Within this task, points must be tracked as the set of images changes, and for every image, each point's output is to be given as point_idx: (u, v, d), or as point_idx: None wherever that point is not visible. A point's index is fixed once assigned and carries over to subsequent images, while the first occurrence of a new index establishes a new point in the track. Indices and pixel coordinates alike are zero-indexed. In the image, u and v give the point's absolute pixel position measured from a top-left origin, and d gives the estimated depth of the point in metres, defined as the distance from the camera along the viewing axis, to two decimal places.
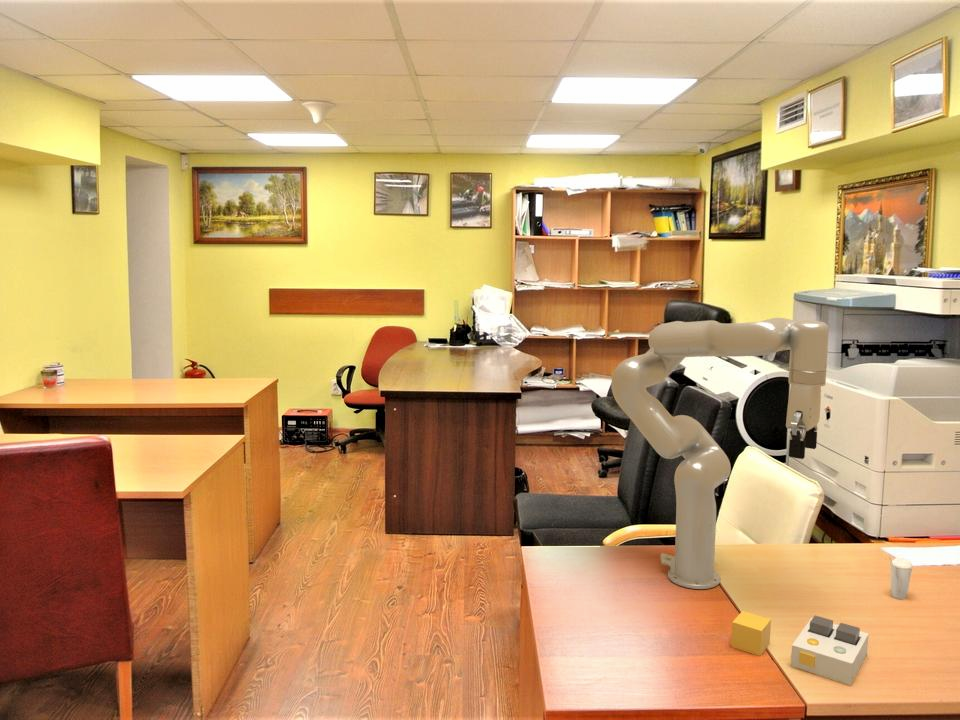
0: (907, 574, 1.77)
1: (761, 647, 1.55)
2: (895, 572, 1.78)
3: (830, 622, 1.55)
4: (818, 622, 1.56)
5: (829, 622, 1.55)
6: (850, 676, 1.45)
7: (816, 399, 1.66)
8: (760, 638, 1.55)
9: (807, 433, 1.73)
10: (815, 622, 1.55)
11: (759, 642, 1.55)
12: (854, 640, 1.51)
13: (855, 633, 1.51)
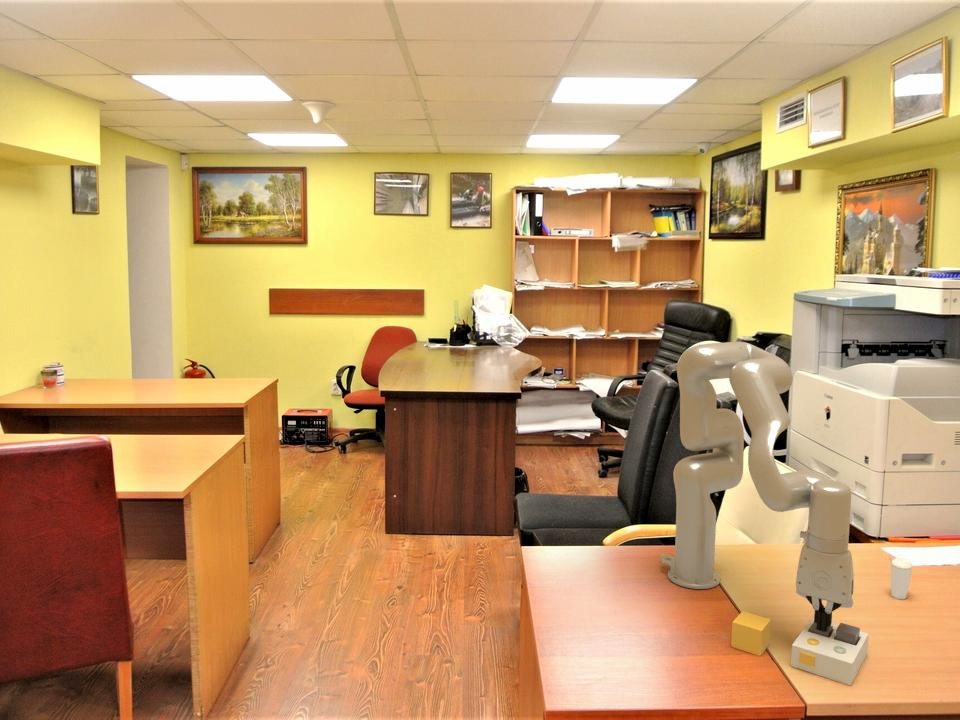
0: (907, 574, 1.77)
1: (761, 647, 1.55)
2: (895, 572, 1.78)
3: (830, 628, 1.56)
4: None
5: (829, 628, 1.56)
6: (850, 676, 1.45)
7: None
8: (760, 638, 1.55)
9: None
10: (815, 628, 1.56)
11: (759, 642, 1.55)
12: (854, 640, 1.51)
13: (855, 633, 1.51)
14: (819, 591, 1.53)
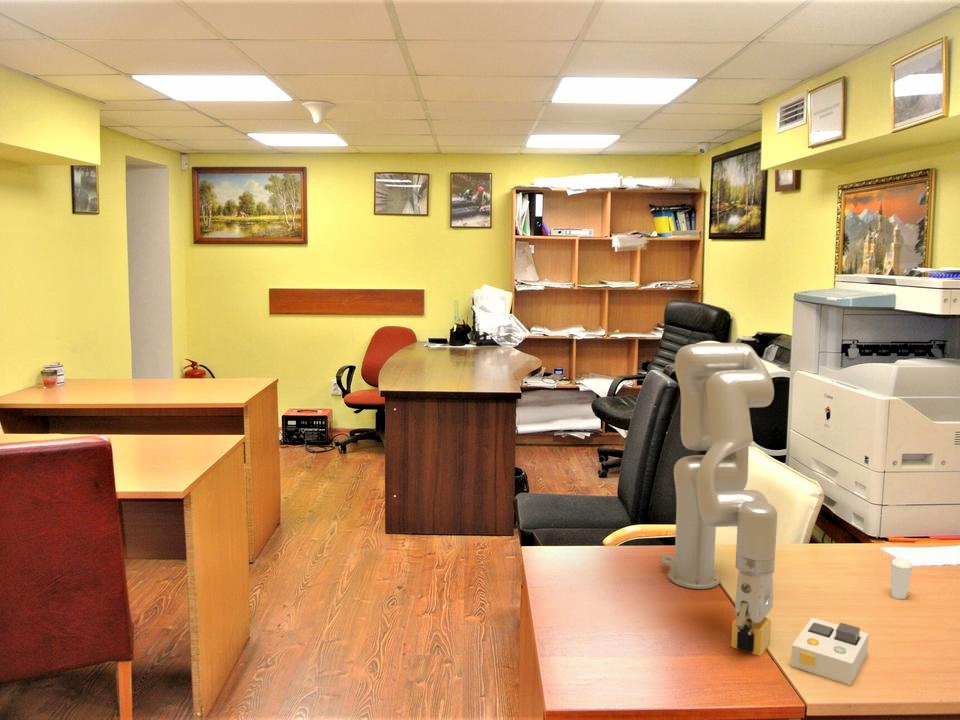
0: (907, 574, 1.77)
1: (761, 647, 1.55)
2: (895, 572, 1.78)
3: (829, 629, 1.56)
4: (817, 629, 1.56)
5: (828, 629, 1.56)
6: (850, 676, 1.45)
7: None
8: (760, 638, 1.55)
9: None
10: (815, 629, 1.56)
11: (759, 642, 1.55)
12: (854, 640, 1.51)
13: (855, 633, 1.51)
14: (766, 609, 1.56)
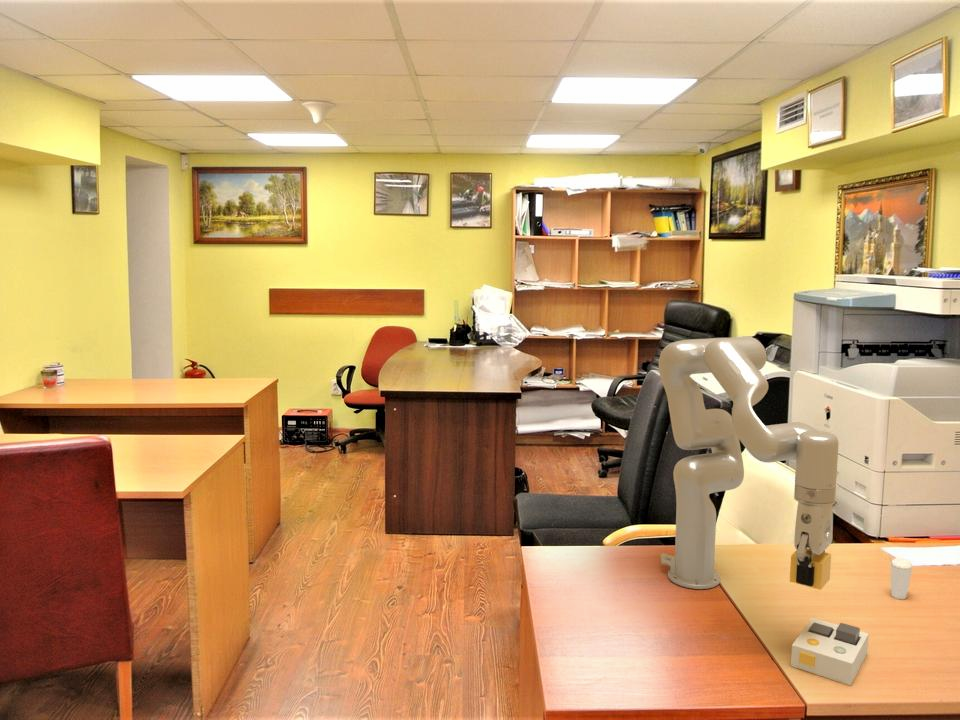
0: (907, 574, 1.77)
1: (822, 581, 1.51)
2: (895, 572, 1.78)
3: (829, 629, 1.56)
4: (817, 629, 1.56)
5: (828, 629, 1.56)
6: (850, 676, 1.45)
7: None
8: (821, 571, 1.50)
9: None
10: (815, 629, 1.56)
11: (820, 575, 1.50)
12: (854, 640, 1.51)
13: (855, 633, 1.51)
14: (826, 542, 1.51)
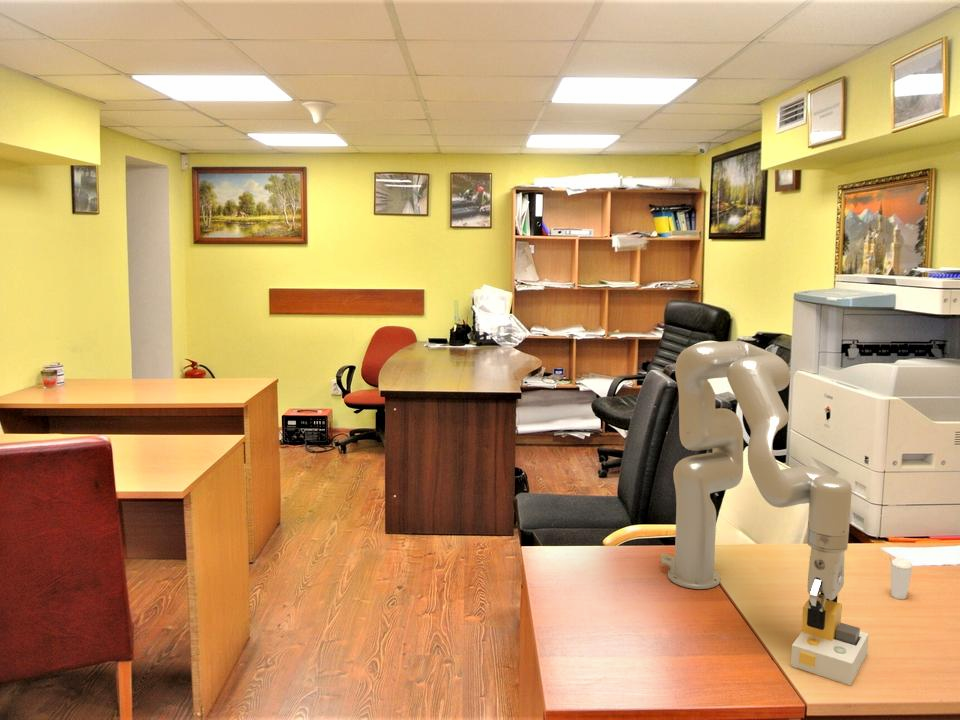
0: (907, 574, 1.77)
1: (834, 632, 1.52)
2: (895, 572, 1.78)
3: None
4: None
5: None
6: (850, 676, 1.45)
7: None
8: (833, 622, 1.52)
9: None
10: None
11: (832, 627, 1.52)
12: (854, 640, 1.51)
13: (855, 633, 1.51)
14: (838, 587, 1.53)
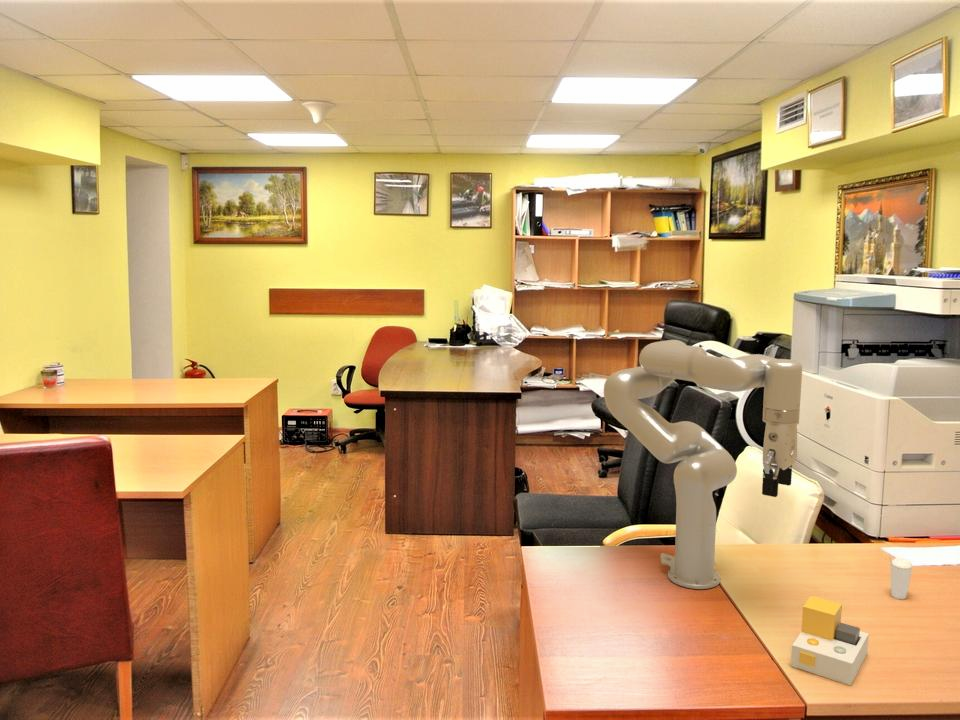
0: (907, 574, 1.77)
1: (834, 632, 1.52)
2: (895, 572, 1.78)
3: None
4: None
5: None
6: (850, 676, 1.45)
7: None
8: (833, 622, 1.52)
9: None
10: None
11: (832, 627, 1.52)
12: (854, 640, 1.51)
13: (855, 633, 1.51)
14: (791, 459, 1.68)
